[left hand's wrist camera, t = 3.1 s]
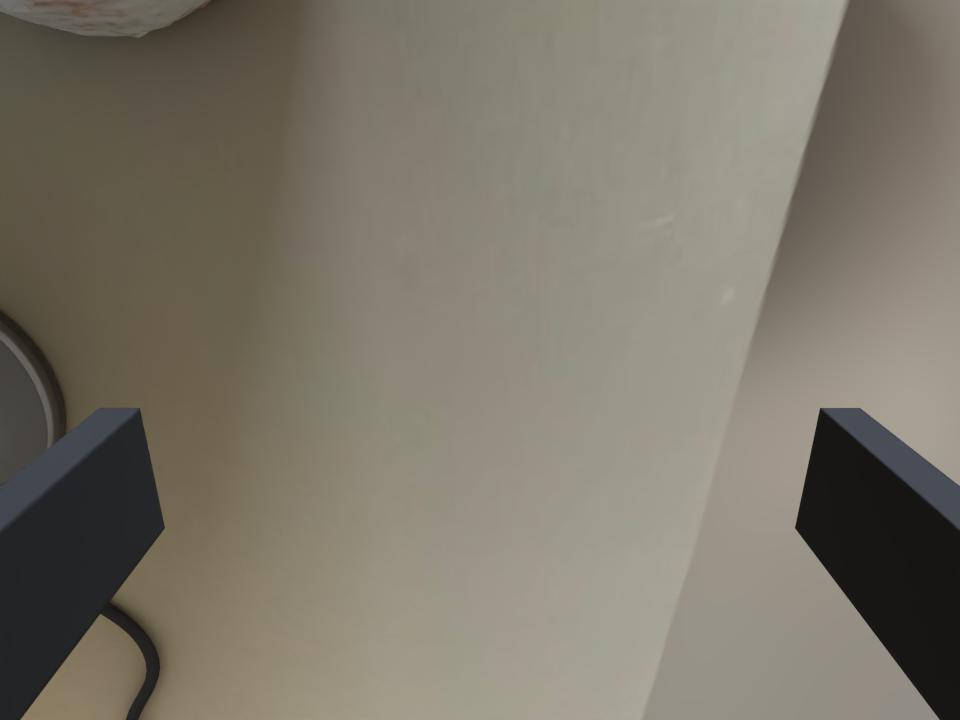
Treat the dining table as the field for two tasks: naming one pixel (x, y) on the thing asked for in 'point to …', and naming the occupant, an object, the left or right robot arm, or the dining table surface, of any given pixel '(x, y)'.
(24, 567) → the left robot arm
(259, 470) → the dining table surface
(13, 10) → the cake
